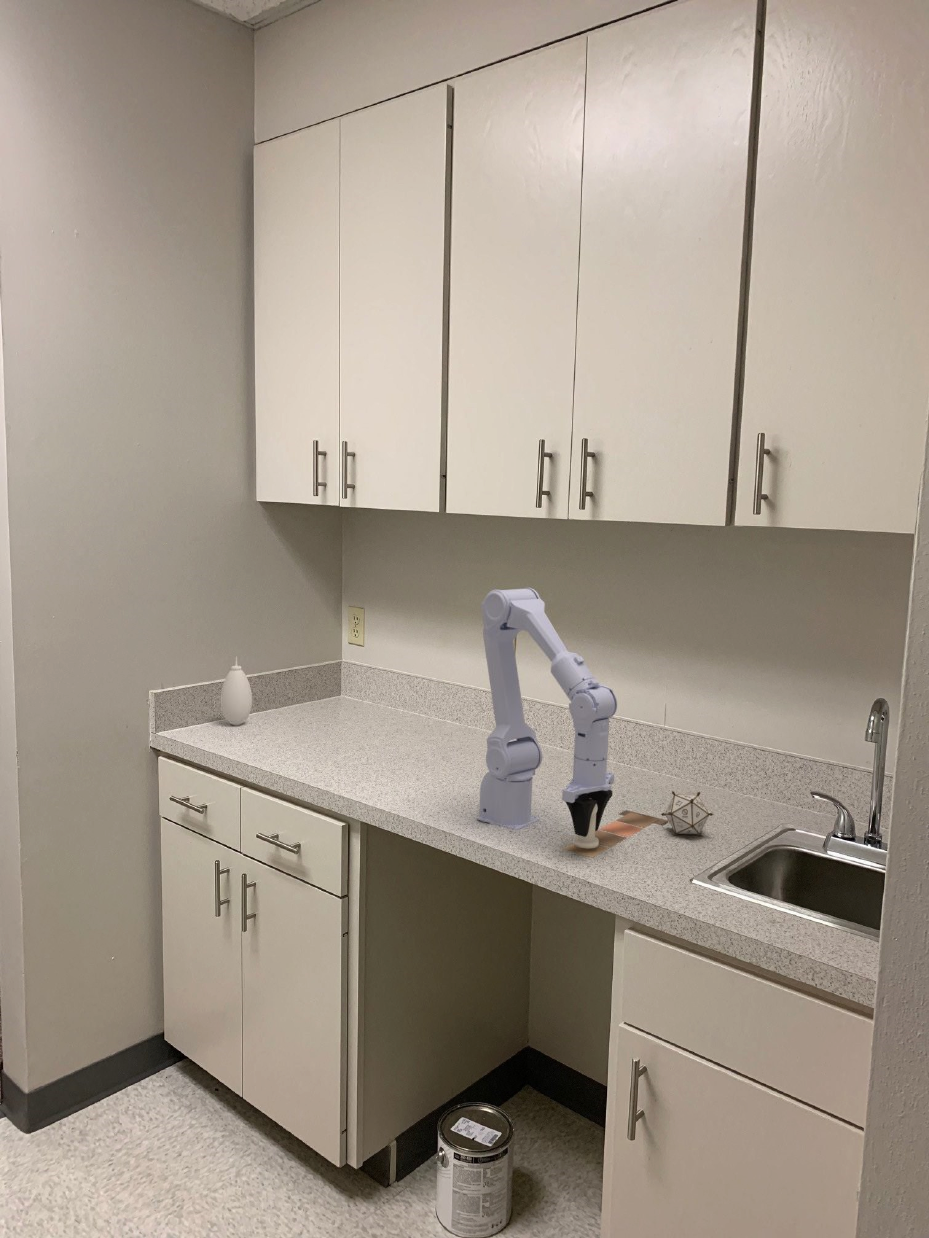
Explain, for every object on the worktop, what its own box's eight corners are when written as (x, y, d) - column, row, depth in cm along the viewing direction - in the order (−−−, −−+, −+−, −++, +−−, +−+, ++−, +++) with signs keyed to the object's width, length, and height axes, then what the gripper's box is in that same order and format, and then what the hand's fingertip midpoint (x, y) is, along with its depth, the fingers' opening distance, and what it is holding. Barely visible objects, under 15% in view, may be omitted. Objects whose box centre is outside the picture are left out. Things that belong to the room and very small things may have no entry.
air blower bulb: (240, 729, 240) (240, 659, 237) (214, 726, 242) (214, 657, 240) (257, 723, 247) (257, 655, 244) (232, 719, 250) (232, 652, 247)
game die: (688, 851, 176) (714, 805, 178) (701, 851, 168) (728, 803, 170) (647, 824, 177) (673, 779, 179) (658, 823, 169) (685, 776, 171)
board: (551, 850, 164) (551, 847, 164) (626, 811, 186) (626, 809, 186) (597, 863, 159) (597, 861, 159) (668, 822, 181) (668, 820, 181)
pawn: (568, 843, 164) (570, 798, 163) (581, 837, 168) (583, 792, 167) (590, 850, 162) (593, 804, 161) (603, 843, 165) (605, 798, 164)
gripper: (589, 770, 154) (585, 849, 156) (631, 752, 166) (626, 826, 168) (553, 761, 159) (549, 838, 160) (595, 745, 170) (591, 817, 172)
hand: (586, 832), depth 164 cm, fingers closed on pawn, 3 cm apart
